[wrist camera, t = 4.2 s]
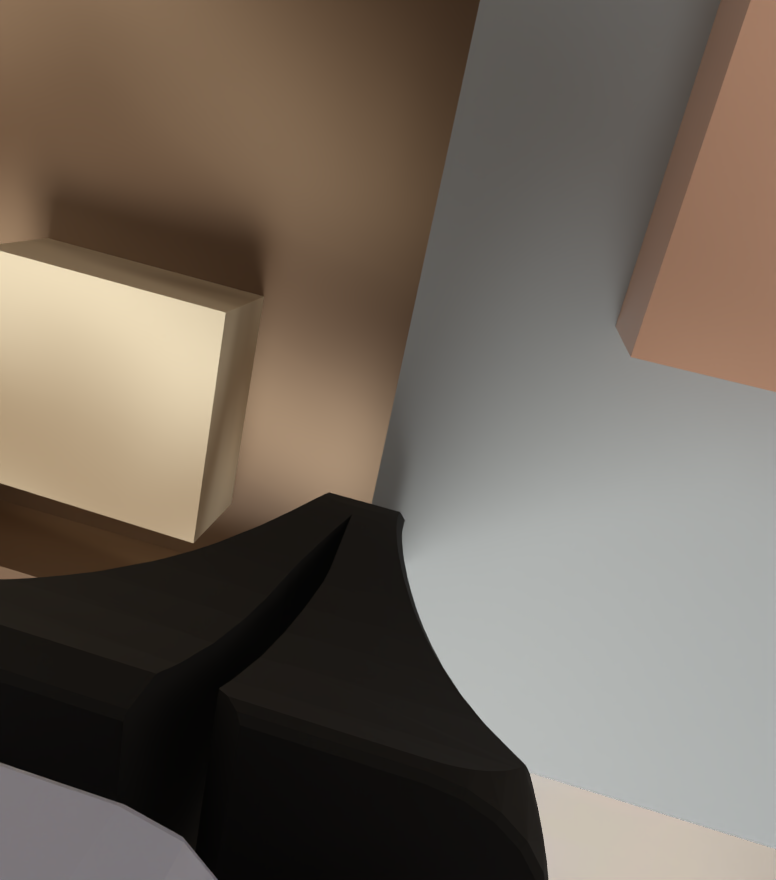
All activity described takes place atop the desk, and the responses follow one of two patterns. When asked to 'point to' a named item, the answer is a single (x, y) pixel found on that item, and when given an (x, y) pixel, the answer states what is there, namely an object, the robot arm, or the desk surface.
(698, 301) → the terracotta tile
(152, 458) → the ash tile
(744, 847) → the desk surface
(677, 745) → the slate slab
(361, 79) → the walnut box
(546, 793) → the desk surface
